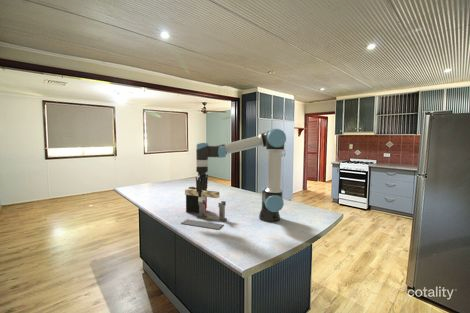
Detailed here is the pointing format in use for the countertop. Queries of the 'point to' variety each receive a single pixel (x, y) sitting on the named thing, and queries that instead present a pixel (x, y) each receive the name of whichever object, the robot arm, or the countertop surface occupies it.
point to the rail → (205, 193)
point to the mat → (202, 224)
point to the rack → (220, 218)
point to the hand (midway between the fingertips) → (201, 200)
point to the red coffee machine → (193, 203)
